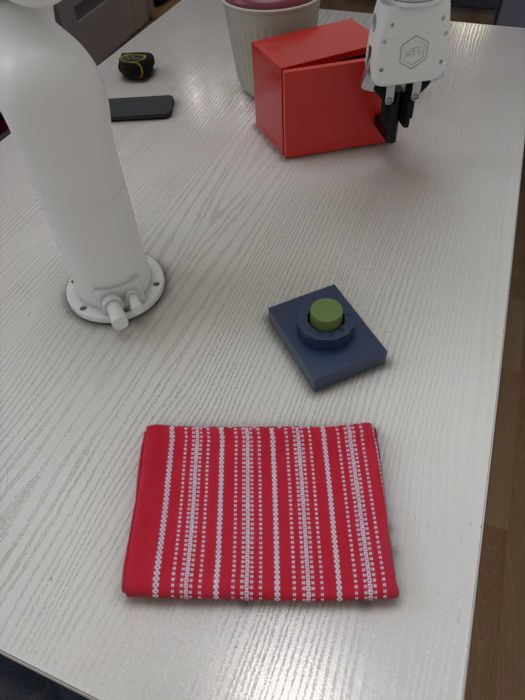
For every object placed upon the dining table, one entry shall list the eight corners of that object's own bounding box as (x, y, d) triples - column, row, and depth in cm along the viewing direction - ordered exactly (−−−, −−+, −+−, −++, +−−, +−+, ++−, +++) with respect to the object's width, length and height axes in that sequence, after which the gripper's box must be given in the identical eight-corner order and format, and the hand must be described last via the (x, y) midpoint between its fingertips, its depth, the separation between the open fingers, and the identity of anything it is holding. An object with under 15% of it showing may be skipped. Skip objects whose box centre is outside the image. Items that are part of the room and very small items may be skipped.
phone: (96, 99, 104) (173, 94, 103) (97, 103, 105) (174, 98, 104) (88, 118, 99) (169, 113, 99) (90, 122, 100) (170, 118, 99)
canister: (340, 90, 103) (349, -42, 87) (262, 121, 97) (255, -15, 81) (285, 59, 113) (283, -65, 97) (210, 85, 107) (195, -42, 91)
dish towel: (149, 429, 57) (144, 416, 55) (375, 428, 56) (378, 414, 54) (119, 602, 46) (111, 593, 44) (398, 605, 45) (403, 596, 43)
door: (404, 161, 87) (419, 73, 76) (295, 179, 85) (295, 92, 74) (387, 138, 91) (399, 52, 81) (284, 155, 90) (282, 69, 79)
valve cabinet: (376, 128, 94) (387, 41, 83) (282, 155, 90) (281, 68, 79) (344, 101, 100) (350, 18, 90) (256, 126, 96) (251, 41, 86)
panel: (385, 363, 61) (389, 340, 58) (314, 392, 59) (315, 370, 56) (333, 296, 69) (335, 272, 65) (268, 320, 67) (267, 296, 63)
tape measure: (157, 67, 114) (153, 48, 111) (151, 82, 109) (147, 63, 106) (125, 68, 114) (120, 49, 111) (118, 83, 110) (113, 64, 107)
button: (347, 325, 61) (349, 314, 59) (319, 336, 60) (319, 325, 58) (332, 304, 63) (332, 294, 61) (304, 315, 62) (304, 304, 61)
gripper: (361, 2, 64) (350, 145, 79) (488, -15, 65) (455, 129, 80) (344, -19, 69) (337, 119, 83) (463, -34, 70) (435, 105, 84)
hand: (395, 123), depth 81 cm, fingers closed on door
